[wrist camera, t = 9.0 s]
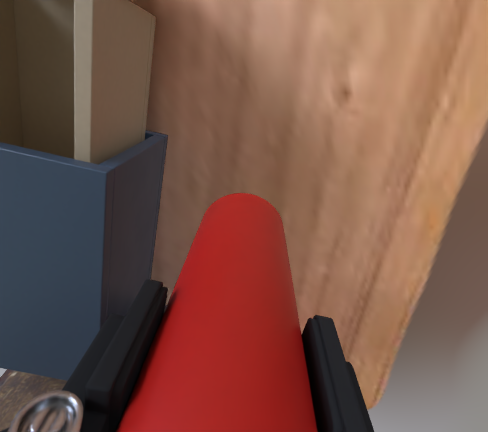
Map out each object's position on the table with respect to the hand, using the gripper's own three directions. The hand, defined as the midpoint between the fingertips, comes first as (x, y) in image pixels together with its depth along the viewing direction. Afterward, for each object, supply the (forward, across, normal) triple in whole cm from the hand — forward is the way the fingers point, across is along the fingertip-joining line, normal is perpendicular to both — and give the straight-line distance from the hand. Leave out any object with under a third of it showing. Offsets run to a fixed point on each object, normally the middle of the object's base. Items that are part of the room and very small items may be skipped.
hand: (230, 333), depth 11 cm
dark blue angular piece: (+15, +12, +4) cm, 20 cm away
